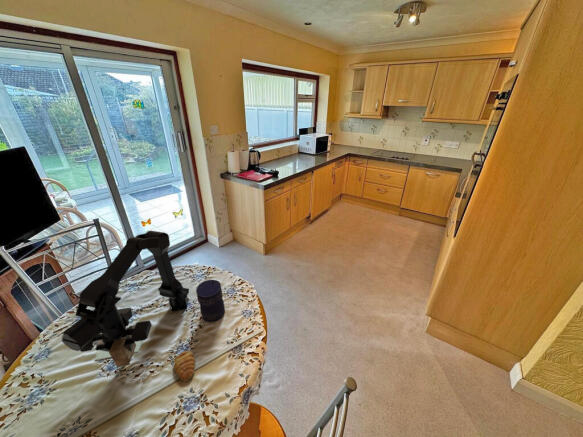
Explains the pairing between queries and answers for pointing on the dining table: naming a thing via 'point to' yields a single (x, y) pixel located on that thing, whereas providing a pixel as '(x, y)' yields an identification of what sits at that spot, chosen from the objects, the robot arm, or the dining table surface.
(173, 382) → the dining table surface
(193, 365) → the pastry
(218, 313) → the storage jar
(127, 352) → the wooden block
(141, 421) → the dining table surface
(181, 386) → the dining table surface
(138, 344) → the mat
